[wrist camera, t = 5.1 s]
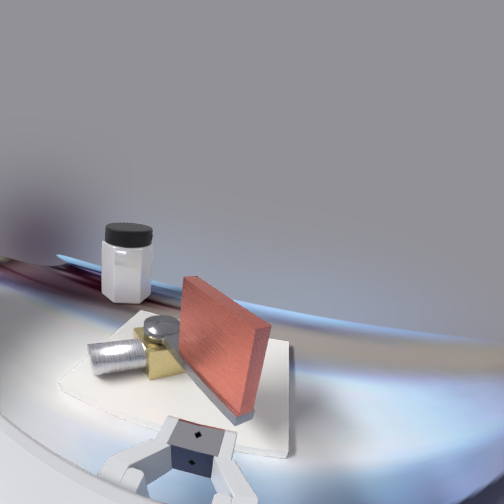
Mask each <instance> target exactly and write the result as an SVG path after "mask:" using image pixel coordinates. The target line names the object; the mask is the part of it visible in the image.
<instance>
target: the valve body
mask: <svg viewBox="0 0 504 504" xmlns="http://www.w3.org/2000/svg"><path fill="white" fill-rule="evenodd" d="M88 354H89V360H90V364H91V368H92V372H93V374H94V376H96V375H103V374H110V373H117V372H124V371H130V370H136V369H143V371H144V372H145V374H146V375H147V377H148V379H149V380H155V379H160V378H165V377H169V376H174V375H178V374H183V373H186V372H185V371H184V370H183V368H182V367H181V366H180V365H179V364H178V362H177V361H176V360H175V359H174V357H173V356H172V355H171V354H170V352H169V351H168V350H167V348H166V347H165V346H164V345H163V344H158V343H154V342H152V341H150V340H148V339H147V338H146V337H145V336H144V327H137V328H133V339H129V340H121V341H113V342H104V343H95V344H88Z"/></svg>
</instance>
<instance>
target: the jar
mask: <svg viewBox="0 0 504 504" xmlns="http://www.w3.org/2000/svg"><path fill="white" fill-rule="evenodd" d="M152 231H153V230H152V228H151V227H149V226H146V225H142V224H135V223H111V224H108V225H106V228H105V240H104V241H103V242H102V294H104V295H105V296H106V297H107V298H108V299H110V300H111V301H112V302H113V303H131V304H140V303H141V302H142V301H144V300H145V299H146V298H147V297H148V296H149V295H150V294H151V276H152V261H153V247H154V244H153V243H151V242H152V236H153V235H152Z"/></svg>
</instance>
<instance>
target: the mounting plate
mask: <svg viewBox="0 0 504 504" xmlns="http://www.w3.org/2000/svg"><path fill="white" fill-rule="evenodd" d="M155 315H157V314H153V313H150V312H146V311H142V310H140V311H139V312H138V313H137V314H136V315H135V316H133V317H132V318H131V319H130V320H129V321H127V322H126V323H125V324H124V325H123V326H122V327H120V328H119V329H118V330H117V331H116V332H115V333H113V334H112V335H111V336H110V337H109V338H108V339H106V340H105V341H104V342H113V341H121V340H129V339H133V328H137V327H144V321H145V319H147V318H148V317H151V316H155ZM179 321H180V320H179ZM104 342H103V343H104ZM58 384H59V388H60V390H62V391H63V392H65V393H67V394H69V395H71V396H73V397H75V398H77V399H79V400H81V401H83V402H85V403H87V404H89V405H92V406H94V407H96V408H98V409H100V410H103V411H105V412H107V413H110V414H112V415H114V416H117V417H119V418H122V419H124V420H127V421H129V422H132V423H135V424H137V425H140V426H143V427H146V428H149V429H152V430H155V431H158V432H159V431H160V429H161V427H162V425H163V423H164V421H165V419H166V417H167V416H168V415H170V416H173V417H177V418H180V419H184V420H187V421H190V422H194V423H198V424H201V425H207V426H211V427H216V428H221V429H225V430H230V431H235V432H237V438H236V443H235V448H234V451H236V452H242V453H247V454H254V455H260V456H268V457H276V458H285V459H286V457H287V454H288V449H289V342H288V341H281V340H275V339H269V340H268V345H267V349H266V354H265V359H264V363H263V368H262V372H261V377H260V381H259V386H258V390H257V395H256V399H255V403H254V409H255V412H254V416H253V419H251V420H249V421H247V422H244V423H242V424H240V425H237V426H234V425H233V424H232V423H231V422H230V421H229V420H228V419H227V418H226V417H225V416H224V415H223V414H222V413H221V412H220V410H219V409H218V408H217V407H216V406H215V405H214V404H213V403H212V402H211V401H210V400H209V399H208V397H207V396H206V395H205V394H204V393H203V392H202V391H201V390H200V388H199V387H198V386H197V385H196V384H195V383H194V381H193V380H192V379H191V378H190V377H189V376H188V374H187V373H183V374H178V375H174V376H169V377H165V378H160V379H155V380H149V379H148V377H147V375H146V374H145V372H144V371H143V369H136V370H130V371H124V372H117V373H110V374H103V375H96V376H94V374H93V372H92V368H91V364H90V360H89V355H88V356H87V357H86V358H85V359H84V360H82V361H81V362H80V363H79V364H78V365H77V366H76V367H74V368H73V369H72V370H71V371H70V372H69V373H68V374H67V375H65V376H64V377H63V378H62V379H61V380H60V381H59V382H58Z"/></svg>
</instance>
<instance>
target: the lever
mask: <svg viewBox="0 0 504 504" xmlns="http://www.w3.org/2000/svg"><path fill="white" fill-rule="evenodd" d="M270 330H271V325H270V324H268V323H267V322H265V321H264V320H262V319H260V318H259V317H257V316H256V315H254V314H253V313H251V312H250V311H248V310H247V309H245V308H244V307H242V306H241V305H239V304H237V303H236V302H234V301H233V300H231V299H230V298H228V297H227V296H225V295H224V294H222V293H221V292H219V291H218V290H216V289H215V288H214V287H212V286H211V285H209V284H208V283H206V282H205V281H203V280H202V279H200V278H199V277H198V276H190V277H184V278H183V290H182V302H181V316H180V321H179V320H178V319H176V318H173V317H170V316H165V315H155V316H151V317H148V318H147V319H145V321H144V336H145V337H146V338H147V339H148V340H150V341H152V342H154V343H158V344H163V345H164V346H165V347H166V348H167V350H168V351H169V352H170V354H171V355H172V356H173V357H174V359H175V360H176V361H177V362H178V364H179V365H180V366H181V367H182V368H183V370H184V371H185V372H186V373H187V374H188V376H189V377H190V378H191V379H192V380H193V381H194V383H195V384H196V385H197V386H198V387H199V388H200V390H201V391H202V392H203V393H204V394H205V395H206V396H207V397H208V399H209V400H210V401H211V402H212V403H213V404H214V405H215V406H216V407H217V408H218V409H219V410H220V412H221V413H222V414H223V415H224V416H225V417H226V418H227V419H228V420H229V421H230V422H231V423H232V424H233V425H234V426H237V425H240V424H242V423H244V422H247V421H249V420H251V419H253V416H254V412H255V409H254V403H255V399H256V395H257V390H258V386H259V381H260V377H261V372H262V368H263V363H264V359H265V354H266V349H267V345H268V340H269V335H270Z"/></svg>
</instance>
